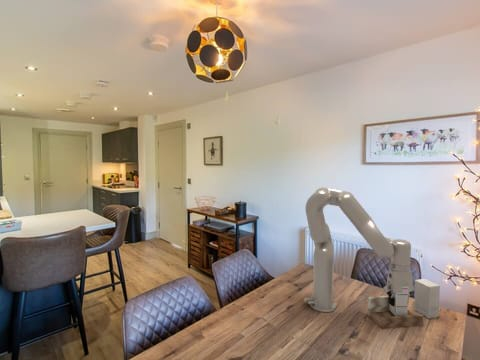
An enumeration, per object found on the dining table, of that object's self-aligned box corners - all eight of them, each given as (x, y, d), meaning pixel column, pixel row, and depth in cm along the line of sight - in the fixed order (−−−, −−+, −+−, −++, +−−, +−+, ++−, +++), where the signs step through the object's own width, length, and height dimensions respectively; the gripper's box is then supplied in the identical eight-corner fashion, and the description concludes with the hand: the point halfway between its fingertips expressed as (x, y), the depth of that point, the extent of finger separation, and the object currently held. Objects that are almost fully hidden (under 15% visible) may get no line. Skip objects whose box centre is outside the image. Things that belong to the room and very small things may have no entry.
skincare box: (439, 317, 125) (441, 285, 124) (427, 319, 123) (429, 287, 122) (423, 307, 133) (425, 277, 132) (412, 309, 132) (414, 279, 130)
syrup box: (407, 317, 120) (409, 286, 119) (394, 317, 120) (396, 286, 119) (400, 310, 126) (402, 280, 125) (388, 309, 126) (389, 280, 125)
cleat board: (382, 328, 116) (383, 309, 116) (367, 314, 127) (368, 296, 126) (422, 325, 119) (424, 306, 118) (405, 311, 129) (406, 294, 129)
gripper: (388, 271, 117) (386, 310, 118) (423, 269, 119) (421, 307, 120) (377, 264, 124) (375, 301, 125) (410, 262, 126) (408, 298, 128)
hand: (398, 303), depth 123 cm, fingers closed on syrup box, 6 cm apart
